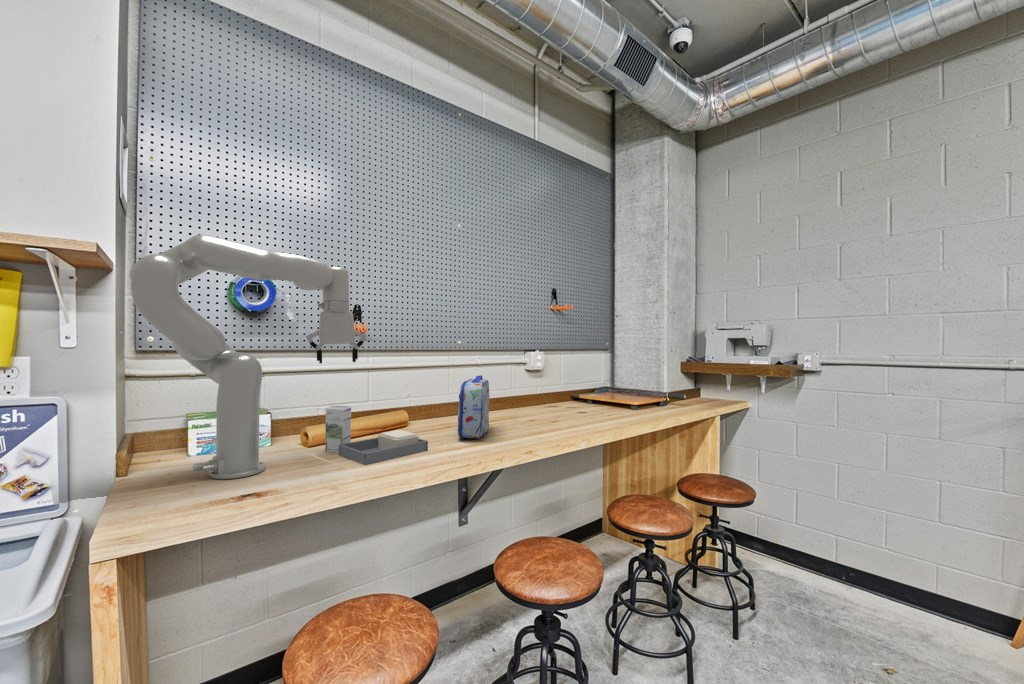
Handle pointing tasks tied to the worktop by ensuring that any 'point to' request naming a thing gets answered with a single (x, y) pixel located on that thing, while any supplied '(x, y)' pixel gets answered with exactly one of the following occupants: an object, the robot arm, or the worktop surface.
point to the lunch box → (473, 408)
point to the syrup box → (337, 427)
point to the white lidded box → (396, 439)
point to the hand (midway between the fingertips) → (337, 362)
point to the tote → (378, 450)
